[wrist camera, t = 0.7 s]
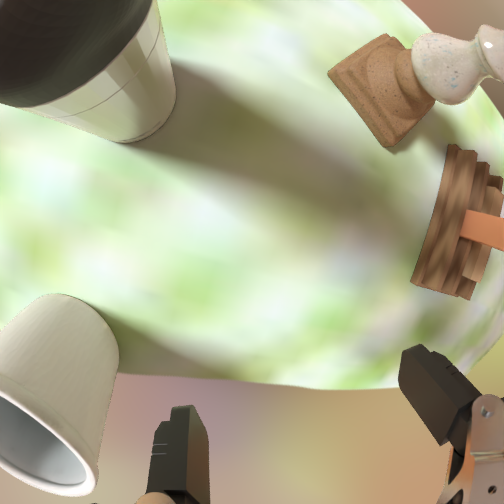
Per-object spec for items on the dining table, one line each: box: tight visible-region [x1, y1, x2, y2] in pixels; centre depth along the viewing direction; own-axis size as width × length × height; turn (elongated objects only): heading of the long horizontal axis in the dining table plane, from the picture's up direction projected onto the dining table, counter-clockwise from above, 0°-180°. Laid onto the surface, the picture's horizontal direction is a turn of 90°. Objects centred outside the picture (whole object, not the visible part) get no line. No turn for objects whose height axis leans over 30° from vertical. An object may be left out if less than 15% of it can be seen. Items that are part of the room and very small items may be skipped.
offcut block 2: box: [481, 186, 504, 217], centre depth 31 cm, size 6×3×4 cm, turn 163°
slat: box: [460, 210, 504, 251], centre depth 26 cm, size 4×2×14 cm, turn 163°
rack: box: [410, 144, 503, 301], centre depth 32 cm, size 20×11×4 cm, turn 163°
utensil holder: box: [0, 294, 119, 497], centre depth 20 cm, size 15×15×18 cm
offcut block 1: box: [462, 241, 492, 283], centre depth 32 cm, size 6×3×4 cm, turn 163°
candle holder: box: [327, 25, 504, 147], centre depth 16 cm, size 11×11×24 cm
